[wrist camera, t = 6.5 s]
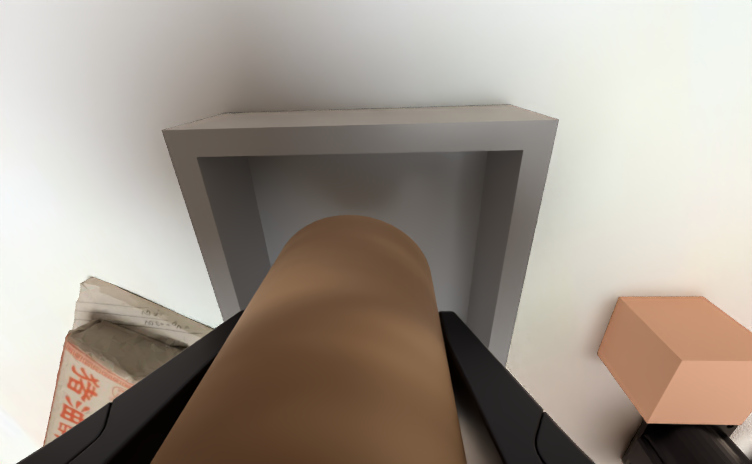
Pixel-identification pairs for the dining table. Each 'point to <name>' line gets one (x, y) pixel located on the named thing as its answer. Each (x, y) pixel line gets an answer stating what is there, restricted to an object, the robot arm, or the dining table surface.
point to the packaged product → (112, 350)
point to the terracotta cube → (680, 360)
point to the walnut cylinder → (329, 361)
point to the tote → (373, 194)
